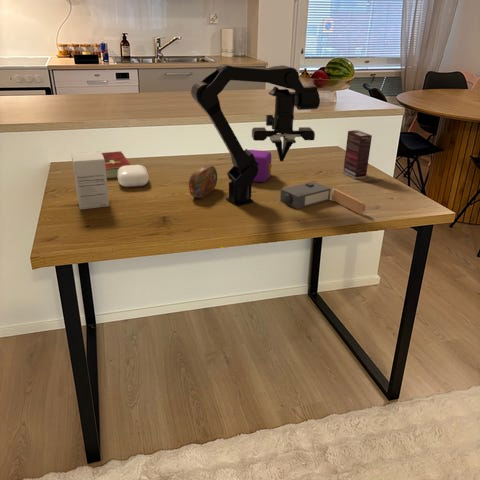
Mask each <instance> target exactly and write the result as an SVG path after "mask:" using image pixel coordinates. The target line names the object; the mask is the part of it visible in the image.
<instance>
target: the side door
mask: <svg viewBox="0 0 480 480" xmlns="http://www.w3.org/2000/svg"><path fill="white" fill-rule="evenodd" d="M331 193H332V194H331V200H332V201H334V202H336V203H337V204H340V205H341V206H343V207H345V208H347V209H349V210H351V211H353V212H354V213H356V214H358V215H363V212H365V211H366V204H365V203H364V202H363V201H361V200H359V199H357V198H355V197H353V196H351V195H348V194H347V193H345V192H343V191H341V190H339V189H336V188H332V192H331Z"/></svg>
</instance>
